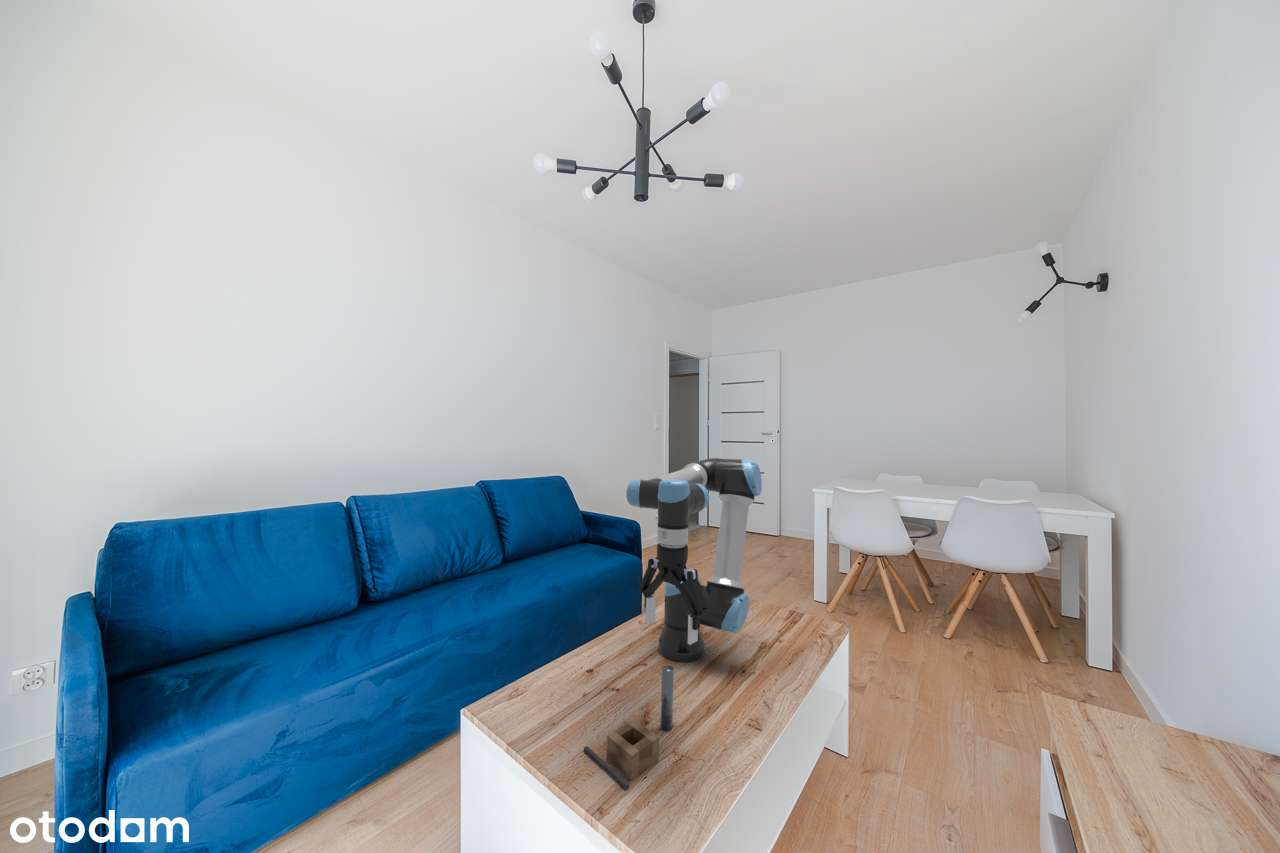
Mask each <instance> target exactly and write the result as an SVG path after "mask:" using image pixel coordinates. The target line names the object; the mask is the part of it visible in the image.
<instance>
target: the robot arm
mask: <svg viewBox="0 0 1280 853" xmlns="http://www.w3.org/2000/svg"><path fill="white" fill-rule="evenodd" d="M762 482H763V481H762V474H761V469H760V467H759V464H758V463H757V462H756V461H755V460H754V461H753V460H746V459H744V458H743V459H738V458H737V459H736V458H735V459H731V458H717V457H712V458H706V459H701V460H698V461H695V462H692V463H688V464H686V465H685V466H684V467H683V468H682V469H680V470H675V471H674V472H670V473H667V474H664V475H661V476H658V477H655V478H651V479H648V480H644V479H634V480H631V481H629V483H628V485H627V488H626V500H627V503H628V504H629V505H630V506H632V507H637V508H640V509H641V508H643V509H650V510H651V509H653V510H657V528H656V529H657V530H656V531H657V533H656V534H657V538H656V541H657V543H658V544H657V545H656V557H653V558H649V559H648V561H647V562H648V563H647V568H646V570H645V572H644V575H643V577H642V579H641V582H640V584H639V585H638V586H639V587H638V591H639V593H642V594H643V597H644V609H645V624H646V625H651V624H653V623H656V602H657V601H656V598H657V596H656V595H655V592H656V591H657V590H658V589H659V587H660V586H661V585H662V584H663V582H664V583H666V584H665V587H664V594H663V595H664V616H663V617H664V624H663V628H662V630H661V633H660V637H659V640H658V652H659V653H660V654H661V655H662V656H663V657H664V658H666V659H667V660H672V661H676V662H679V663H680V662H681V663H682V662H684V663H687V662H694V661H697V660H699V659H701V658H703V657H704V655H705V651H706V645H705V641H704V639H703V635H702V631H701V625H702V626H706V627H709V628H713V629H717V630H721V631H723V632H728V633H735V634H737V633H738V632H739V631H741V630H742V628H743V626H744V625H745V622H746V621H747V617H748V615H749V614H748V612H749V607H750V597H749V595H748V594H747V593H745V586H744V585H743V583H742V581H741V574H742V570H743V569H742V568H743V561H744V560H743V559H744V551H745V541H746V533H747V525H748V516H749V507H750V506H751V505H752V504H754V503H755V497H759V496H760V495H761V494H762V487H763V486H762V485H763V483H762ZM709 492H714V493H715V492H716V493H719V494H718V497H719V499H720V500H721V502H722V503H721V504H722V506H721V512H720V521H719V526H718V534H717V543H716V552H715V557H714V558H715V559H714V565H713V571H712V572H713V573H712V576H710V578H708V579H707V581H706V582H707V583H706V585H705V584H702V580H701V578H699V576H698V575H699V573H698V570H697V569H696V568H695V569H694V568H693V569H688V568H687V562H688V559H689V546H688V545H687V544H689V522H690V521H689V517H690V515H692V514H697V513H700V512H701V511H703V510H704V509H705V508H707V507H708V504H709V502H710V494H709ZM657 570H658V573H657ZM656 573H657V574H656ZM655 574H656V575H655ZM654 576H655V577H654Z"/></svg>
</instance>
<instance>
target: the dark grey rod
mask: <svg viewBox="0 0 1280 853" xmlns="http://www.w3.org/2000/svg"><path fill="white" fill-rule="evenodd" d="M583 752H584V753H585V754H586V755H587V756H589V758H590V759H591V760H592V761H594V762H595V763H596V765H598V766H599V767H600V768H601V769H603V771H604V772H606V773H607V774H608V775H609V776H610V777H611V778H612V779H613V780H614V781H615V782H617V783H618V784H619V785H620V786H621V787H622V788H623V789H624V790H625V791H626V790H629V788H630V784H629V782H628V781H627V780H626V779H624V778H623V777H622V776H621V775H620V774H619V773H618V772H616V770H614V769H613V768H612V767H611V765H609V764H608V763H606V761H604V760H603V759H602V758H601V757H600V756H599V755H598V754H597V753H595V751H593V750H592V749H591V748H590V747H589V746H588V745H586V746H584V747H583Z"/></svg>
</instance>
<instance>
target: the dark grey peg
mask: <svg viewBox="0 0 1280 853" xmlns="http://www.w3.org/2000/svg"><path fill="white" fill-rule="evenodd" d="M660 691H661V697H660V699H661V700H660V704H661V705H660V730H662V731H664V732H670V731H672V729H673V714H674V713H673V712H674V710H673V709H674V708H673V707H674V667H672V666H670V665H664V666H662V668H661V690H660Z"/></svg>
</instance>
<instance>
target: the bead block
mask: <svg viewBox="0 0 1280 853" xmlns="http://www.w3.org/2000/svg"><path fill="white" fill-rule="evenodd" d="M659 754H660V737H659V735H657V734H655V733H654V732H652V731H651V730H650V729H649V728H648V727H646V726H644V725H643V724H642V723H641V722H639V721H638V720H637V719H634V718H633V719H631V720H630V721H628V722H627V723H625V724H623V725H622V726H620V727H618V728H616V729H615V730H613V731H612V732H610V733H608V734H607V735H606V759H607V760H608V761H609V762H610V763H611V764H612V765H613V766H615V767H616V769H618V770H619V771H620V772H621V773H623V775H625V776H626V777H627V778H628V779H629V781H633V780H634V779H635V778H637V777H638V776H639V775H641V774H642V773H644V772H645V771H647V770H648V769H649V768H650V767H652V766H654V764H656V763H657V762H658V761H659V759H660V756H659Z"/></svg>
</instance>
